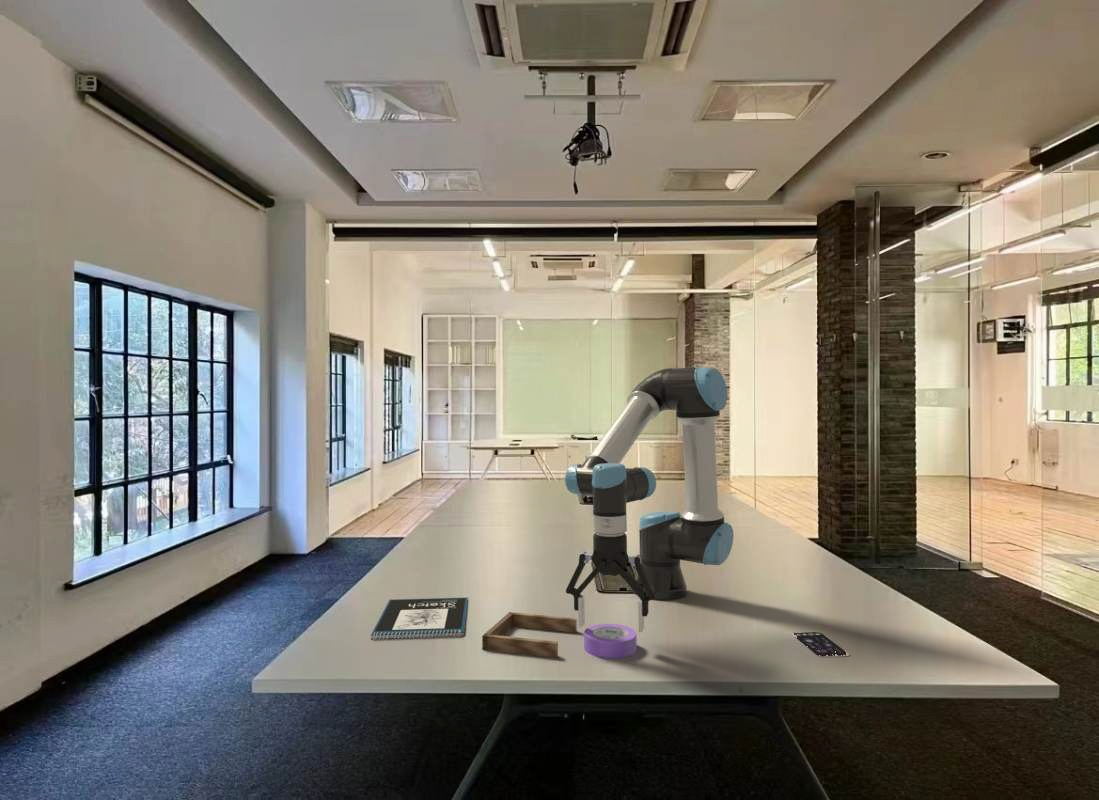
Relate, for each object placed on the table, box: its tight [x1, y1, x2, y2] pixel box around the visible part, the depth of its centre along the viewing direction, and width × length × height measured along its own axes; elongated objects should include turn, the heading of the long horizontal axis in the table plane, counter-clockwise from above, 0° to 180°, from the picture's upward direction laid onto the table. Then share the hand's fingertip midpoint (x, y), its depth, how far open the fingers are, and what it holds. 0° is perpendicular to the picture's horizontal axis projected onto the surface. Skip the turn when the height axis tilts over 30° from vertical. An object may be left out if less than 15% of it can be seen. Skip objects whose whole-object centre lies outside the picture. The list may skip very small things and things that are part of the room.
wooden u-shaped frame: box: [481, 611, 578, 659], centre depth 153 cm, size 17×17×3 cm
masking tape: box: [583, 623, 638, 659], centre depth 148 cm, size 12×12×4 cm
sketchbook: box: [370, 596, 469, 641], centre depth 169 cm, size 22×30×2 cm
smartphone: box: [793, 631, 847, 658], centre depth 150 cm, size 8×1×15 cm
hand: (611, 627), depth 148 cm, fingers open, 13 cm apart
